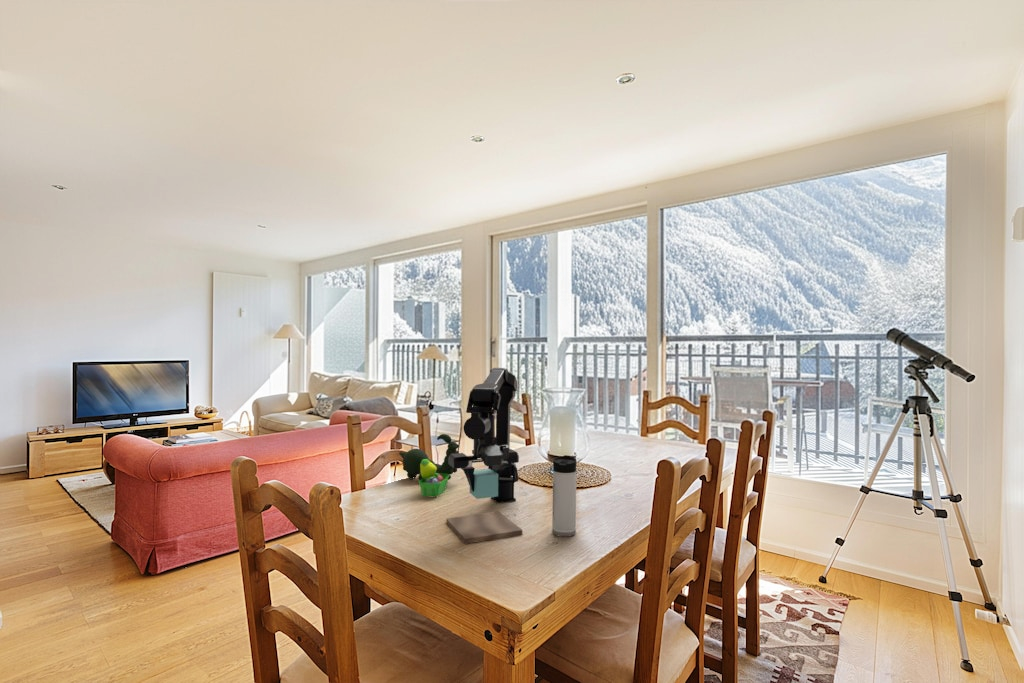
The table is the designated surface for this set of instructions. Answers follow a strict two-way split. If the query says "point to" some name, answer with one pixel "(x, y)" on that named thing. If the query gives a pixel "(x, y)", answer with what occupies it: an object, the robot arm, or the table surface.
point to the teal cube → (485, 484)
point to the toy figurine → (417, 455)
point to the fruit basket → (431, 479)
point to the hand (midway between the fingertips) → (483, 489)
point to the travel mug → (564, 496)
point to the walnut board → (483, 527)
